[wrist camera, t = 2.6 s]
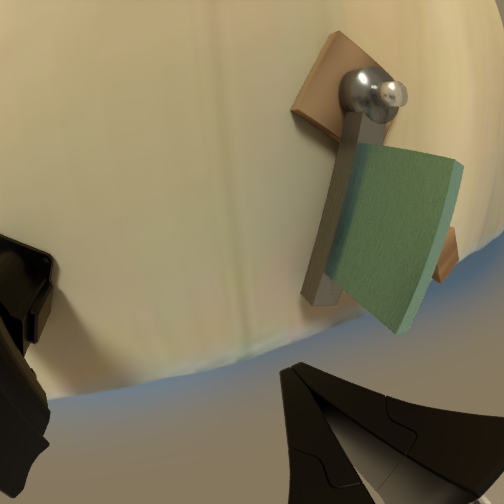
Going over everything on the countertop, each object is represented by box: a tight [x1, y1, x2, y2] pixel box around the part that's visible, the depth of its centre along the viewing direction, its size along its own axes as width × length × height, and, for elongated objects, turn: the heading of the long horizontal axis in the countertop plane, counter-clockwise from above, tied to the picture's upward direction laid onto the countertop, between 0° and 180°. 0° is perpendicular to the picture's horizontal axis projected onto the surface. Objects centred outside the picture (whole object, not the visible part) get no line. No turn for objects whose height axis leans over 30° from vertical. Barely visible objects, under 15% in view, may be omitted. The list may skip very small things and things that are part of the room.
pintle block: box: [291, 31, 395, 143], centre depth 19 cm, size 8×8×1 cm
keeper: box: [432, 226, 459, 284], centre depth 25 cm, size 5×4×5 cm
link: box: [301, 66, 464, 335], centre depth 16 cm, size 19×4×10 cm, turn 168°
